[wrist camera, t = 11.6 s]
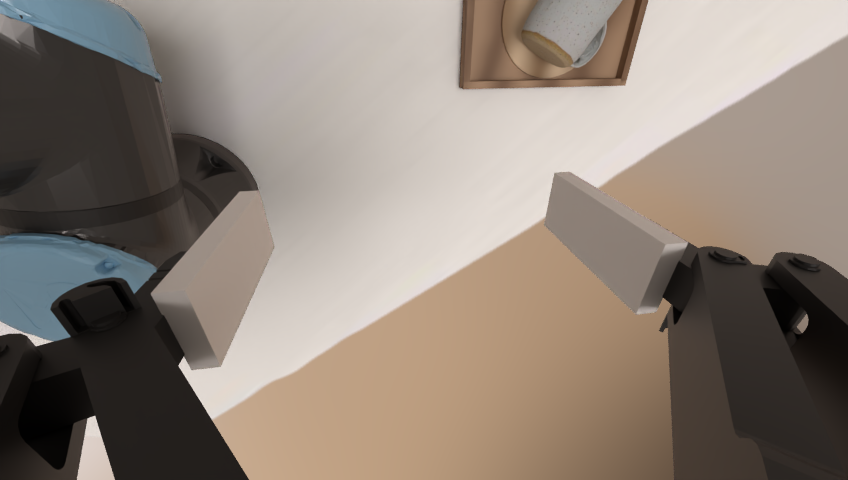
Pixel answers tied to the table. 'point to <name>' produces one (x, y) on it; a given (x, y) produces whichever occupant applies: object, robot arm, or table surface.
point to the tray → (521, 68)
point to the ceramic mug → (567, 30)
